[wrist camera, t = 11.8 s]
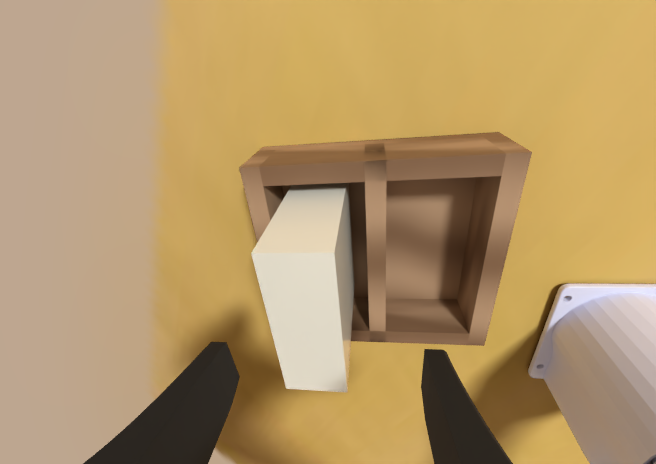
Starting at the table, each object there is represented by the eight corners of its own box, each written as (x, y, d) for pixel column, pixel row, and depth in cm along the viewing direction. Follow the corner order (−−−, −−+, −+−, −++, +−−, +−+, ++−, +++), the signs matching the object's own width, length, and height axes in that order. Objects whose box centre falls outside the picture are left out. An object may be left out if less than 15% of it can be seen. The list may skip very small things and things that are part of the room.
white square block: (354, 283, 21) (347, 392, 14) (312, 282, 22) (286, 388, 15) (348, 173, 17) (334, 252, 10) (297, 176, 18) (251, 253, 11)
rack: (467, 302, 22) (484, 345, 19) (292, 299, 24) (280, 338, 21) (498, 132, 16) (531, 152, 13) (262, 147, 18) (239, 167, 15)
